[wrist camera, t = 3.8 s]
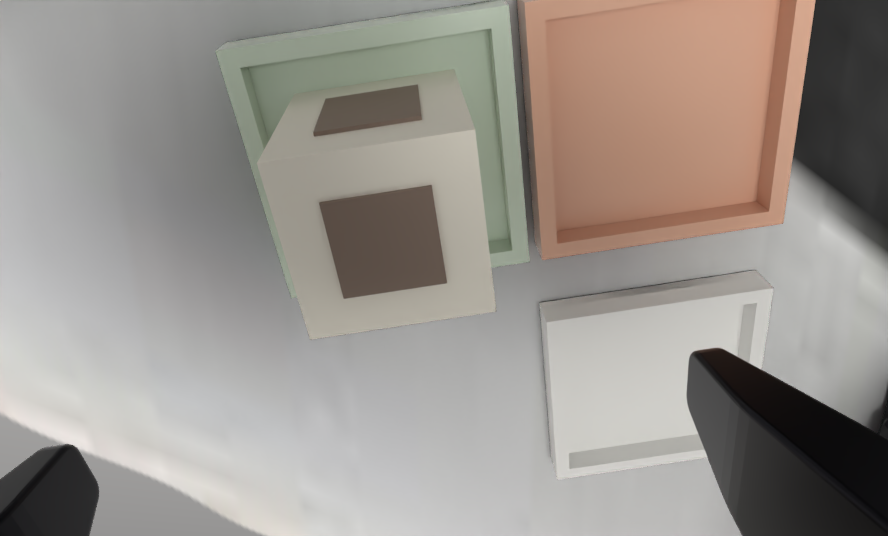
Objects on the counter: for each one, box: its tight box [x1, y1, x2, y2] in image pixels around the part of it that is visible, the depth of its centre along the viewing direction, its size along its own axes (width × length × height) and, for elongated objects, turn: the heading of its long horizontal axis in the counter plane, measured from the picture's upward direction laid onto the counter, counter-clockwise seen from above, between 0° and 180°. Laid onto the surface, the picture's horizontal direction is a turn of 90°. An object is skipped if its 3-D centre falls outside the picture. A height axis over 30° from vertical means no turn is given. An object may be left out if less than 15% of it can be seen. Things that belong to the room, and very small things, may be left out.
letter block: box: [257, 69, 496, 340], centre depth 16 cm, size 4×5×6 cm
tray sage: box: [215, 0, 530, 298], centre depth 19 cm, size 8×8×1 cm
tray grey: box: [540, 270, 774, 480], centre depth 24 cm, size 8×8×1 cm
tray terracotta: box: [517, 0, 815, 260], centre depth 19 cm, size 8×8×1 cm
